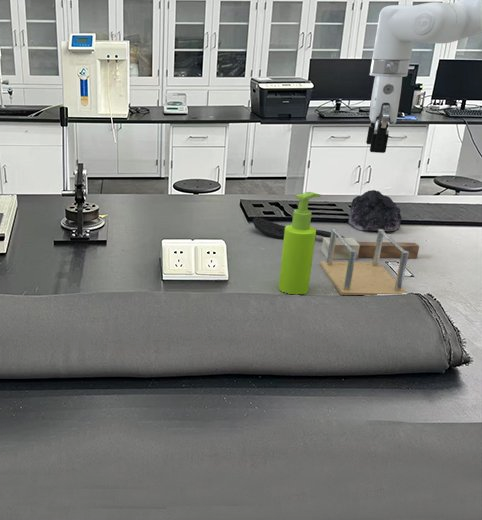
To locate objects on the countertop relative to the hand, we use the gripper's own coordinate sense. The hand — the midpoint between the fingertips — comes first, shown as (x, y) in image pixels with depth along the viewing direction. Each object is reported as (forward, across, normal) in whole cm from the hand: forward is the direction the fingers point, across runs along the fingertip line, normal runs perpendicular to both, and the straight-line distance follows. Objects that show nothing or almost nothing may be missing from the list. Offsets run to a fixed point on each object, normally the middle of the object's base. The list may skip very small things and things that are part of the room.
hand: (375, 148), depth 121 cm
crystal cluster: (+24, +18, -5) cm, 31 cm away
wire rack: (+24, -20, +1) cm, 32 cm away
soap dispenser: (+24, -29, +14) cm, 40 cm away
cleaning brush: (+24, -5, -3) cm, 25 cm away
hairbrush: (+24, +3, +14) cm, 28 cm away
